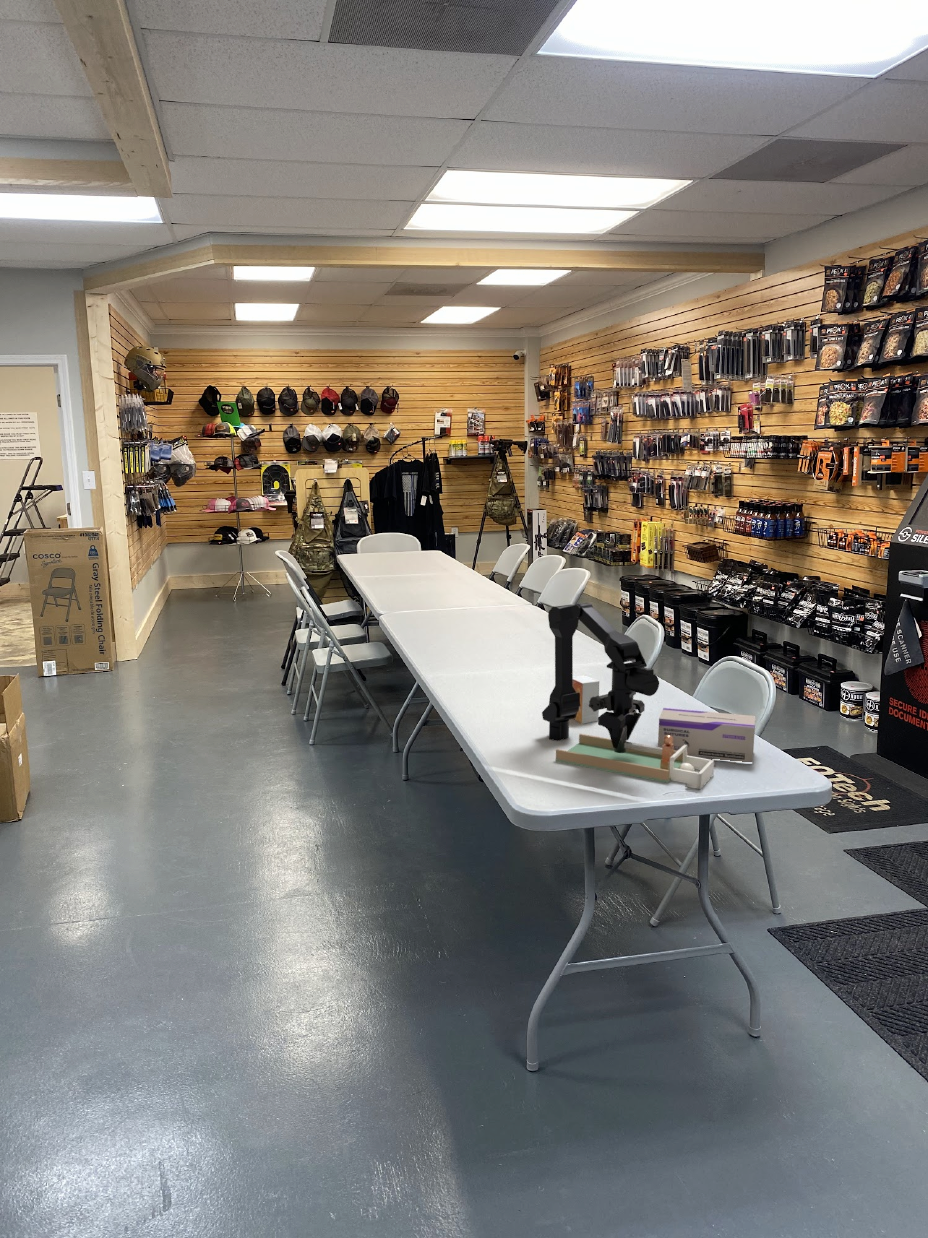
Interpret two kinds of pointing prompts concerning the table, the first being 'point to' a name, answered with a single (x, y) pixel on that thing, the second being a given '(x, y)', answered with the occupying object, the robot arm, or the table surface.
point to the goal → (689, 776)
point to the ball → (686, 767)
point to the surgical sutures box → (709, 733)
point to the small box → (586, 698)
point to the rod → (649, 749)
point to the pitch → (616, 759)
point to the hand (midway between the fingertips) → (620, 744)
